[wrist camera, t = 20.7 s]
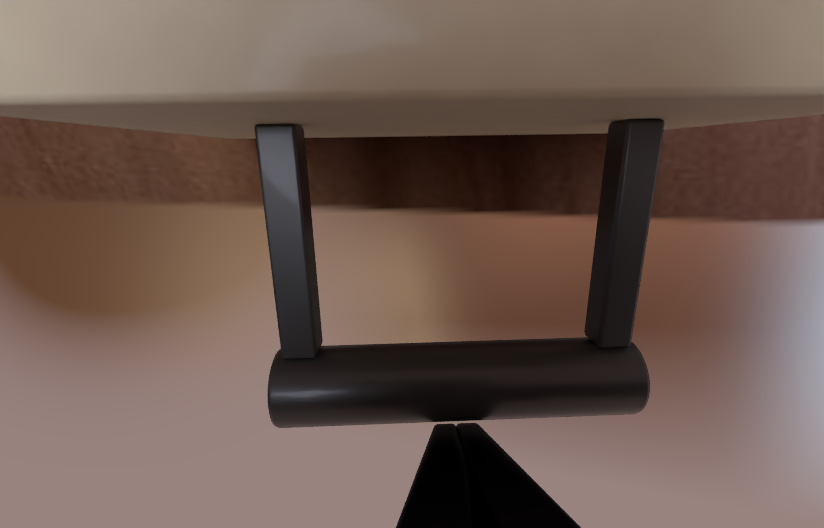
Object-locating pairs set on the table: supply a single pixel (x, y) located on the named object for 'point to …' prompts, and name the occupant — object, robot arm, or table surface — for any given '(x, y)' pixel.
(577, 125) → the drawer
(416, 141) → the table surface
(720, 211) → the table surface
